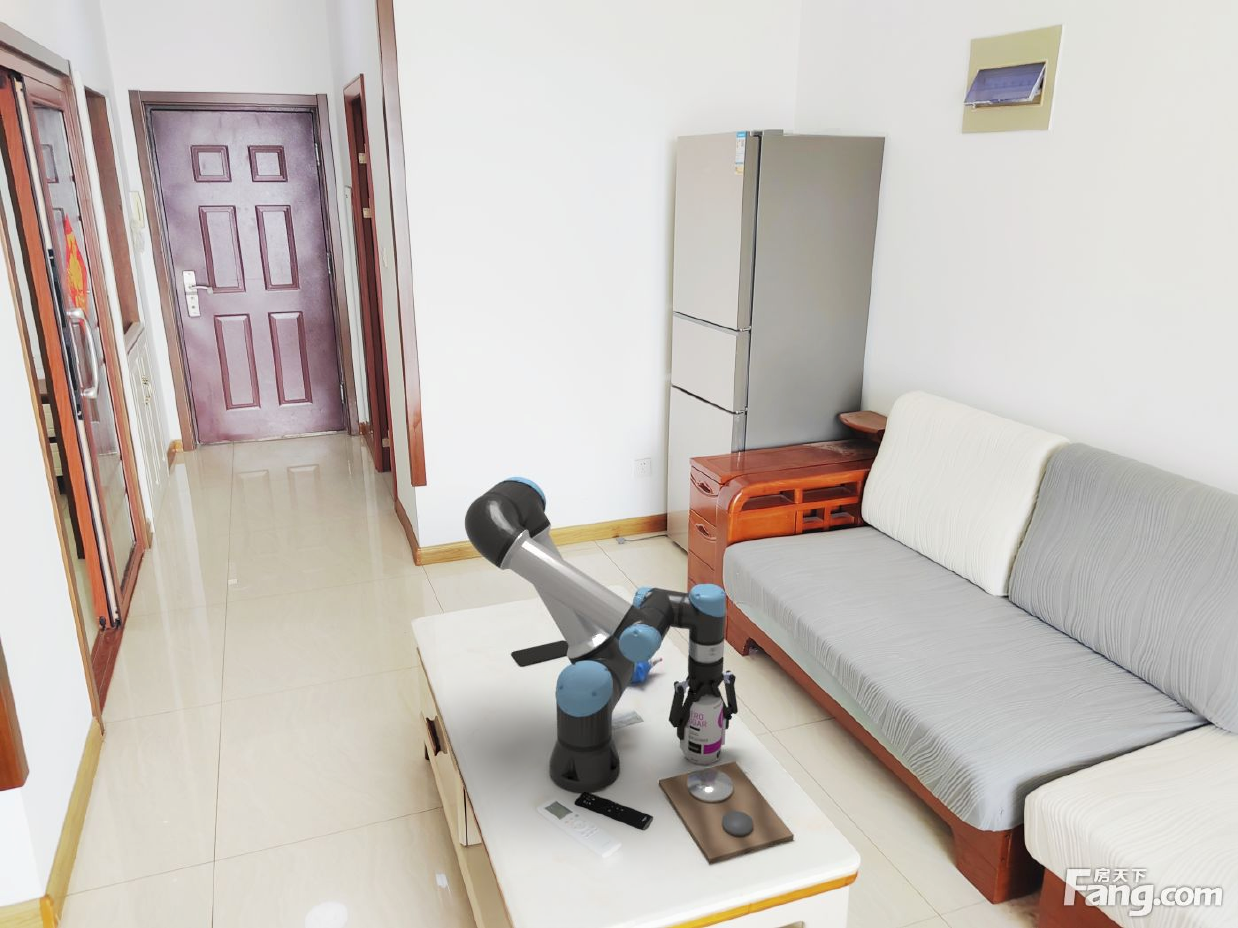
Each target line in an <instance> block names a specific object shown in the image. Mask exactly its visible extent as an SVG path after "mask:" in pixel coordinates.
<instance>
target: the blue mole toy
mask: <svg viewBox="0 0 1238 928" xmlns="http://www.w3.org/2000/svg"><path fill="white" fill-rule="evenodd" d="M662 661H663V658H662V657H652V658H651V659H649V660H648V661H646V662H642V663H637V667H636V671H635V673H634V676H633V679H632V681H631V683H632V682H634V683H636V682H641V681H642V682H644V681H645V679H646V677H647V676H648V675H649V673H650V671H651V670H652V669H653V668H654V667H655V666H657V664H658V663H660V662H662Z"/></svg>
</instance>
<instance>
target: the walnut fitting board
mask: <svg viewBox="0 0 1238 928" xmlns="http://www.w3.org/2000/svg"><path fill="white" fill-rule="evenodd" d="M703 769H713V770H718V771H721V772H723V773H725V774H726V775H728V776H729V777H730V778H731V780H732V782H733V793H732V795H731V797H730V798H728V799H727V800H725V801H723V802H720V803H705V802H701V801H699V800H697V799H695V798H694V797H692V796H691V795H690V793H689V792H688V789H687V781H688V778H689V776H690V775H691V774H693V773H694V772H696V771H699V770H703ZM658 786H659V788H660V790H661V791H662V793H664V796H666V799H667V800H668V802H669V803H670V805H671V806H672V808H673V810H674V811H675V812H676V815H677V816H678V817H679V819H680V820H681V822H682V824H683V825H684V827H685V829H686V830H687V832H688V833H689V835H690V836H691V837H692V839H693V841H694V842H695V844H696V846H697V847H698V849H699V850H700V852H701V853H702V855H703V856H704V859H705V860H706V861H707V863H708V864H709V865H712V864H715V863H718V862H722V861H725V860H729V859H732V858H735V857H738V856H739V857H740V856H743V855H746V854H750V853H753V852H757V851H760V850H763V849H764V850H765V849H768V848H771V847H774V846H778V845H781V844H784V843H788V842H791V841H794V838H795V837H794V835H795V834H794V833H793V832H792V831H791V829H790V828H789V827H788V826H787V824H785V822H784V821H783V819H782V818H781V816H779V815H778V813H777V812H776V811H775V810H774V808H773V807H772V806H771V804H770V803H769V802H768V801H767V799H765V797H764V795H762V793H761V792H760V790H759V789H758V788H757V787H756V786H755V784H754V783H753V782H752V780H751V779H750V778H749V777H748V776H747V775H746V773H745V772H744V771H743V770H742V768H741V766H739V765H738V763H737V762H736V761H735V760H734V761H730V762H726V763H723V764H722V763H721V764H719V765H714V766H710V767H706V768H702V769H697V770H694V771H690V772H686V773H682V774H677V775H674V776H670V777H665V778H661V779H658ZM732 811H740V812H743V813H746V814H747V815H749V816H750V817H751V818H752V820H753V830H752V832H751V833H750V834H749V835H747V836H743V837H736V836H732V835H730V834H728V833H726V832H725V831H724V829H723V827H722V818H723V816H724V815H725V814H727V813H728V812H732Z"/></svg>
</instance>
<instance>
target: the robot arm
mask: <svg viewBox="0 0 1238 928" xmlns="http://www.w3.org/2000/svg"><path fill="white" fill-rule="evenodd" d="M546 506H547V499H546V495H545V493H544V492H543V489H542V488H541V487H540V486H539V485H538V484H537V483H535V482H534V481H533V480H531V479H529V478H526V477H522V476H512V477H508V478H506V479H504V480H502V481H499V482H498V483H497V484H495V485H494V486H493V487H491V488H490V489H488V490H487V491H486V492H485V493H483V494H482V495H480V496H478V497H477V498H476V499H475V500H474V501H472V502H471V504H470V505H469V507H468V509H467V510H466V513H465V516H464V517H465V518H464V528H465V533H466V535H467V538H468V540H469V542H470V543H471V545H472V546H473V548H474V549H475V550H476V551H477V552H478V553H479V554H480V555H481V556H482V557H484V558H485V560H487V561H488V562H490V563H491V564H492V565H494V566H495V567H497V568H499V569H500V570H502V571H504V570H511V571H512V572H514V573H515V574H517V575H518V576H520V577H521V578H523V579H524V580H526V581H528V582H529V583H530V584H532V586H533V587H534V589H535V590H536V593H537V595H538V596H539V597H540V599H541V601H542V603H543V604H544V606H545V607H546V610H547V611H548V613H549V614H550V616H551V618H552V620H553V621H554V623H555V625H556V626H557V628H558V630H559V631H560V634H561V635H562V637H563V638H564V641H566V642H567V643H568V645H569V648H568V652H567V656H566V657H567V659H568V660H569V662H570V664H569V665H567V666H566V667H565V668H564V669H562V671H561V672H560V673H559V674H558V676H557V679H556V687H555V692H554V693H555V700H556V702H555V704H556V741H555V744H554V747H553V750H552V752H551V756H550V760H549V774H550V778H551V779H552V781H553V782H554V783H555V784H556V785H557V786H559V787H561V788H562V789H564V790H566V791H570V792H575V793H584V792H586V793H593V792H597V791H601V790H603V789H606V788H608V787H610V786H611V785H612V784H614V782H616V781H617V779H618V777H619V776H620V773H621V759H620V756H619V753H618V750H617V747H616V744H615V742H614V740H613V732H612V731H613V712H614V710H615V708H616V706H617V705H618V702H619V701H620V700H621V698H622V696H623V695H624V693H625V691H626V689H627V687H629V686H630V684H631V683H632V682H631V681H632V679H633V676H634V673H635V671H636V667H637V663H642V662H646V661H648V660H649V659H651V658H654V656H655V654H656V653H657V652H658V651H659V650H660V649H661V646H662V642H663V641H664V639H665V637H666V635H667V634H668V632H669V630H670V629H671V628H675V629H681V630H682V629H685V630H688V648H687V649H688V650H687V651H688V656H687V673H688V674H687V677H686V679H685V680H684V681H677V680H676V681H674V682H673V689H674V693H673V697H672V701H671V707H670V711H669V717H668V721H669V723H670V724H671V726H672V727H673V728H676V737H677V738H678V739H679V748H680V750H681V751H682V752H683V755H685V754H688V740H689V727H688V726H687V725H686V724H687V722H688V720H689V718H690V708H691V706H692V704H693V702H698V701H699V700H700V698H701V697H702V696H705V695H711V694H714V695H715V696H716V698H717V697H721V699H722V701H723V715H722V736H721V746H725V745H726V730H728V729H729V727H730V720H732V719H733V716H732V715H733V714H734V715H737V714H738V712H739V709H738V702H737V695H736V690H735V689H736V688H735V683H736V679H737V678H736V675H734V673H733V672H732V671H731V670H726V671H725V672H724V654H725V653H724V652H725V637H726V636H725V633H726V619H727V618H726V617H727V601H726V600H727V595H726V592H725V590H724V589H723V588H722V587H720V586H719V585H717V584H714V583H713V584H712V583H705V584H703V583H698V584H696V585H694V586H692V587H691V589H690V591H689V592H684V591H683V592H682V591H676V590H672V589H671V590H670V589H665V588H659V587H654V586H653V587H649V586H641V587H639V588H638V589H637V590H636V592H635V594H634V597H633V600H632V603H630V602H629V601H627V600H626V599H624V598H623V597H622V596H620V595H618V594H616V593H615V592H614V591H612V590H611V589H609V588H607V587H606V586H605V585H603V584H601V583H600V582H599V581H597V580H596V579H593V577H591V576H590V575H588V574H587V573H585V572H584V571H582V570H580V569H579V568H577V567H575V566H574V565H572V564H571V563H569V562H568V561H567V560H565V559H564V558H563V556H562V554H561V553H560V551H559V549H558V548H557V546H556V544H555V542H554V540H553V539H552V538H551V536H550V530H551V527H552V524H551V522H550V519H549V518H548V516H547V515H546V513H545V512H546ZM723 681H724V682H723ZM722 683H724V688H725V689H724V690H725V694H726V695H725V696H726V702H727V704H726V702H725V700H724V697H723V695H722V692H721V690H720V689H719V686H720V685H721V684H722ZM688 687H689V688H688ZM687 688H688V689H687ZM686 693H687V695H686V697H685V694H686ZM685 699H686V700H685Z"/></svg>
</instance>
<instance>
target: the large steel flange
mask: <svg viewBox="0 0 1238 928" xmlns="http://www.w3.org/2000/svg"><path fill="white" fill-rule="evenodd" d="M702 769H703V770H701V769H698V770H699V771H697V770H695V771H696V772H694V773H693V774H691V775H690V776H689V778H688V781H687V789H688V792H689V793H690V795H691V796H692V797H694V798H695V799H697V800H699V801H701V802H705V803H720V802H723V801H725V800H727V799H728V798H730V797H731V795H732V793H733V782H732V780H731V778H730V777H729V776H728V775H726V774H725V773H723V772H721V771H718V770H713V769H705V768H702Z"/></svg>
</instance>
